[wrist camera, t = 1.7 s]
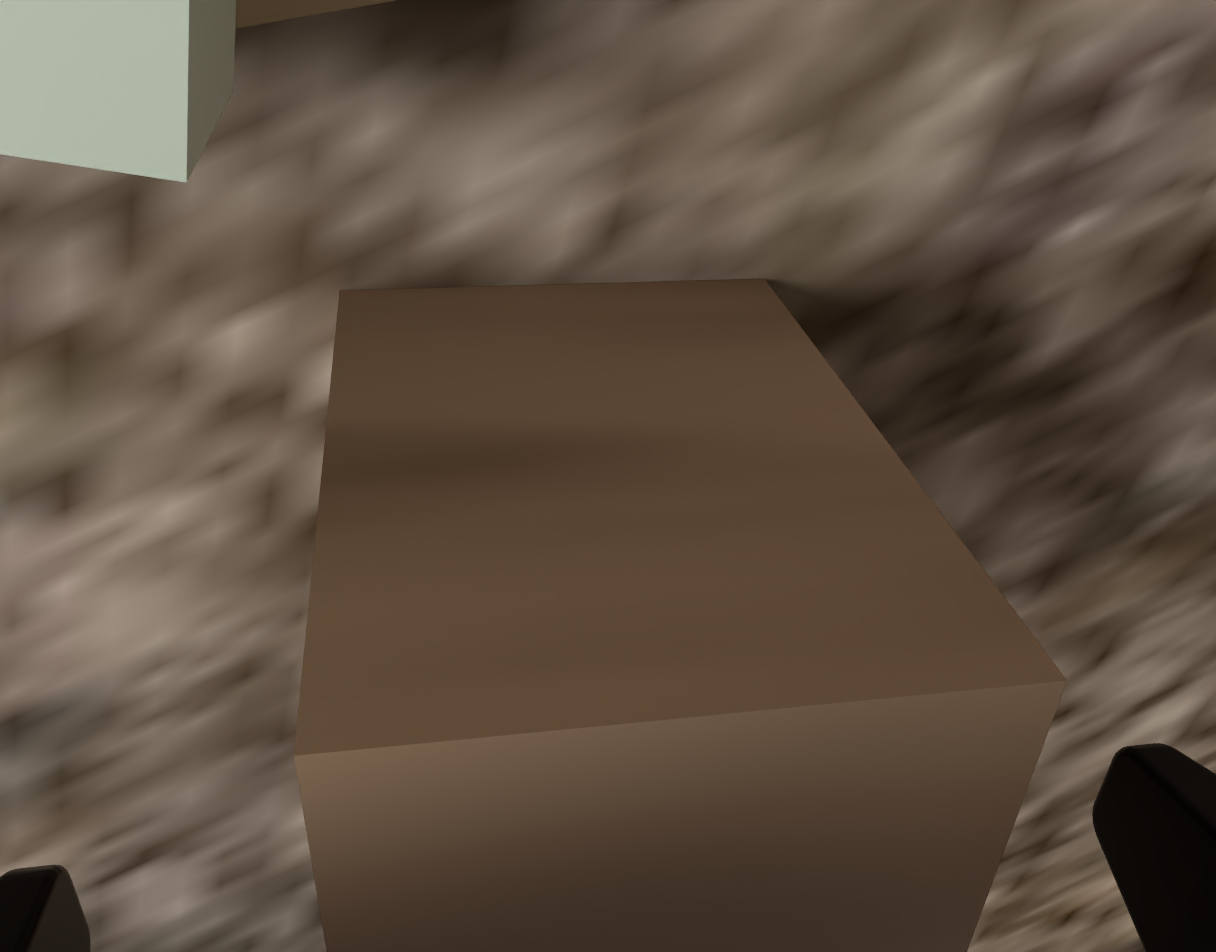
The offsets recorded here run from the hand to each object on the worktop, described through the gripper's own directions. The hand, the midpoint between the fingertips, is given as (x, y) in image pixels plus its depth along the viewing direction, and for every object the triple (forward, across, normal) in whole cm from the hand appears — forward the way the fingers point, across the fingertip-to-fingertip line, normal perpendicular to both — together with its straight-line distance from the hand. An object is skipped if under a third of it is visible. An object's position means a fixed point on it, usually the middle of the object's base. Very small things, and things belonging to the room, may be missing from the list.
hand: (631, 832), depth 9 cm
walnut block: (+6, 0, 0) cm, 6 cm away
